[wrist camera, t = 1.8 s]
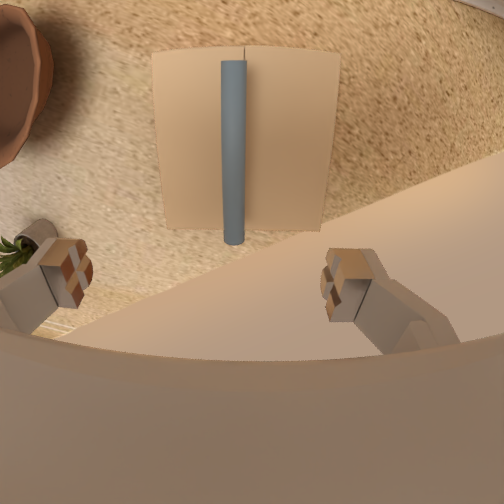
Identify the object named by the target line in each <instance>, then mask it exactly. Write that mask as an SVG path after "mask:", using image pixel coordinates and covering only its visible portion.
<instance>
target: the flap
mask: <svg viewBox="0 0 504 504" xmlns="http://www.w3.org/2000/svg"><path fill="white" fill-rule="evenodd" d="M151 58H152V86H153V104H154V119H155V131H156V143H157V153H158V163H159V172H160V180H161V188H162V196H163V203H164V210H165V217H166V224H167V229H224V242H225V243H226V244H229V245H239V244H242V243H243V242H244V235H245V148H246V88H247V61H246V60H244V47H218V48H199V49H186V50H176V51H167V52H159V53H152V54H151Z"/></svg>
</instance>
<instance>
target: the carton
mask: <svg viewBox="0 0 504 504" xmlns="http://www.w3.org/2000/svg"><path fill="white" fill-rule="evenodd" d="M218 47H244V60H246V61H247V88H246V148H245V230H264V231H316V232H320V228H321V222H322V216H323V210H324V204H325V197H326V190H327V184H328V177H329V169H330V162H331V154H332V146H333V138H334V129H335V120H336V111H337V100H338V89H339V77H340V63H341V53H335V52H328V51H321V50H313V49H304V48H294V47H281V46H262V45H245V46H207V47H192V48H181V49H171V50H163V51H155V52H152V53H159V52H167V51H176V50H186V49H199V48H218Z"/></svg>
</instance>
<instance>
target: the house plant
mask: <svg viewBox="0 0 504 504" xmlns="http://www.w3.org/2000/svg"><path fill="white" fill-rule="evenodd" d="M47 238H57V231H56V229H55V227H54V225H53V224H52V223H51V222H49V221H48V220H45V219H39V220H37V221H36V222H35V223H33V224H32V225H30V226H29V227H28V228H26V229H25V230H23V231H22V232H21V233H19V234H18V235H17V236H16V237H15V238H14V245H13V244H11V243H10V242H8V241H7V240H6V239H4V238H3V237H2V236H1V240H2V243H3V245H4V246H3V245H2V244H1V243H0V252H3V253H11V252H16V253H14V254H10V255H0V256H1V257H2V258H0V262H2V263H1V264H0V271H1V270H3V272H1V273H0V278H1V277H3V276H4V275H6V274H8V273H9V272H11V271H12V270H14V269H16V268H17V267H19V266H21V265H22V264H27V262H28V261H29V260H30V258H31V257H32V256H33V255H34V253H35V252H36V251H37V250H38V248H39V247H40V246H41V245H42V243H43V242H44V241H45V240H46V239H47Z"/></svg>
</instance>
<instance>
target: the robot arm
mask: <svg viewBox="0 0 504 504" xmlns="http://www.w3.org/2000/svg"><path fill="white" fill-rule="evenodd" d="M455 1H458V2H461V3H464V4H467V5H470V6H473V7H475V8H478V9H481V10H483V11H486V12H488V13H491V14H493V15H495V16H498V17H500V18H502V19H504V0H455ZM87 250H88V249H87V246H86V243H85V241H84V240H82V239H73V238H47V239H46V240H45V241H44V242H43V243H42V245H41V246H40V247H39V248H38V250H37V251H36V252H35V253H34V255H33V256H32V257H31V258H30V260H29V261H28V262H27V264H22V265H21V266H19V267H17V268H16V269H14V270H12V271H11V272H9V273H8V274H6V275H4V276H3V277H1V278H0V504H504V333H501V334H497V335H493V336H489V337H485V338H481V339H476V340H472V341H467V342H462V343H461V342H460V341H459V339H458V337H457V335H456V333H455V331H454V329H453V327H452V325H451V324H450V322H449V320H448V318H447V317H446V316H445V315H443V314H442V313H441V312H439V311H438V310H437V309H435V308H434V307H433V306H431V305H430V304H428V303H427V302H426V301H424V300H423V299H422V298H420V297H419V296H417V295H416V294H414V293H413V292H412V291H410V290H409V289H407V288H406V287H404V286H403V285H402V284H400V283H399V282H397V281H396V280H392V279H390V278H389V276H388V274H387V273H386V270H385V269H384V267H383V265H382V264H381V262H380V260H379V258H378V256H377V255H376V253H375V251H374V250H372V249H343V248H329V250H328V252H327V256H326V261H327V264H328V265H327V266H326V267H325V268H324V269H323V270H322V275H321V283H320V287H321V293H322V296H323V298H324V299H326V300H327V303H326V306H325V308H326V311H327V315H328V318H329V321H330V322H354V324H355V325H356V326H357V327H358V328H359V329H360V330H361V331H362V332H363V333H364V334H365V336H366V337H367V338H368V339H369V340H370V341H371V342H372V343H373V344H374V345H375V346H376V347H377V348H378V349H379V350H380V351H381V352H382V353H383V355H378V356H368V357H357V358H344V359H330V360H310V361H222V360H202V359H186V358H174V357H163V356H152V355H144V354H135V353H126V352H120V351H113V350H106V349H99V348H93V347H88V346H82V345H77V344H71V343H66V342H61V341H57V340H52V339H47V338H43V337H39V336H35V335H30V334H31V333H32V332H33V331H34V330H35V329H36V328H37V327H38V326H39V325H40V324H42V323H43V322H44V321H45V320H46V319H47V318H48V317H49V316H50V315H51V314H52V313H53V312H55V311H56V310H57V309H58V307H64V308H73V309H78V307H79V305H80V303H81V301H82V299H83V297H84V292H83V290H84V289H86V288H87V287H89V285H90V283H91V281H92V277H93V266H92V262H91V260H90V259H89V258H88V257H87V256H86V252H87Z"/></svg>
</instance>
